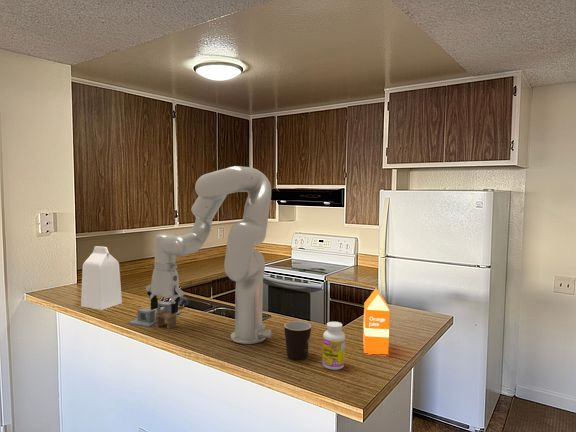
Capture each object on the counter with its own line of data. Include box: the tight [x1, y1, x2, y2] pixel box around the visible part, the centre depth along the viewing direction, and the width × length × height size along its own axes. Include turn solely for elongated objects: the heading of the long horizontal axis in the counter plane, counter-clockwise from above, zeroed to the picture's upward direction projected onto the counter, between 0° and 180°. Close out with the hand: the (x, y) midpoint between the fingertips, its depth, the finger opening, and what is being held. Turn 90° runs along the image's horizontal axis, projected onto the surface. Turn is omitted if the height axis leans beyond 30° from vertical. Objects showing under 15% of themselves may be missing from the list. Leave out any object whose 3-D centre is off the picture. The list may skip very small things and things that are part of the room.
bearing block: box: [127, 301, 183, 328], centre depth 165 cm, size 10×20×5 cm, turn 157°
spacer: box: [155, 310, 177, 330], centre depth 155 cm, size 6×4×5 cm, turn 67°
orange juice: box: [362, 287, 390, 355], centre depth 136 cm, size 8×9×20 cm
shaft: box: [160, 296, 190, 311], centre depth 175 cm, size 4×15×3 cm, turn 157°
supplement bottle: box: [321, 321, 346, 371], centre depth 123 cm, size 7×7×13 cm
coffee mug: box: [283, 320, 312, 362], centre depth 130 cm, size 12×9×10 cm
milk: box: [80, 245, 123, 311], centre depth 181 cm, size 12×12×26 cm
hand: (164, 310), depth 155 cm, fingers open, 9 cm apart
